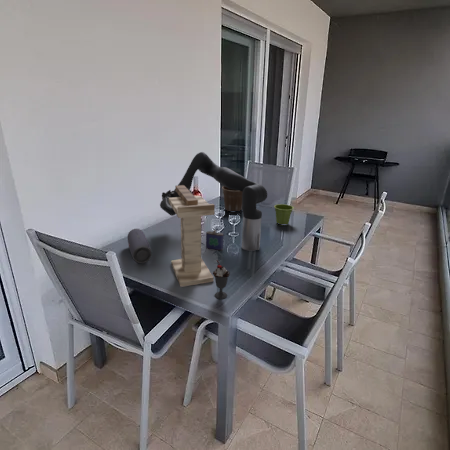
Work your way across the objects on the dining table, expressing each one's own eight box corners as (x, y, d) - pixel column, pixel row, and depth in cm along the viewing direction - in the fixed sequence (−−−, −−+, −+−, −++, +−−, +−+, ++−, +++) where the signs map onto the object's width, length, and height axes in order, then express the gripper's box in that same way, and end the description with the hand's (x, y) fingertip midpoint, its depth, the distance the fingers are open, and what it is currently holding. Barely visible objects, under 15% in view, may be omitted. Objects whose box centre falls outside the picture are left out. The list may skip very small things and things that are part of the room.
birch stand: (171, 264, 146) (168, 193, 133) (200, 260, 150) (200, 191, 138) (180, 287, 128) (178, 207, 116) (213, 281, 133) (214, 204, 120)
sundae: (211, 290, 126) (212, 257, 121) (228, 290, 127) (229, 257, 122) (212, 300, 120) (213, 266, 115) (230, 300, 121) (231, 265, 115)
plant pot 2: (294, 223, 200) (296, 206, 196) (287, 228, 191) (289, 211, 186) (277, 219, 206) (278, 202, 202) (269, 224, 196) (271, 207, 192)
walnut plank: (175, 190, 144) (175, 185, 144) (184, 190, 146) (184, 185, 145) (187, 206, 124) (187, 200, 123) (197, 206, 125) (197, 200, 124)
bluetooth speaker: (127, 246, 162) (125, 228, 158) (145, 244, 165) (144, 226, 162) (132, 267, 142) (130, 247, 139) (153, 264, 146) (152, 244, 142)
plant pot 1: (242, 214, 212) (243, 191, 206) (219, 212, 215) (219, 189, 209) (246, 207, 226) (247, 185, 221) (224, 205, 230) (225, 183, 224)
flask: (223, 249, 162) (224, 230, 158) (222, 251, 160) (222, 232, 156) (206, 246, 164) (206, 227, 161) (204, 249, 162) (204, 229, 158)
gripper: (159, 193, 160) (162, 184, 145) (186, 191, 165) (193, 182, 150) (160, 208, 159) (164, 200, 144) (188, 205, 164) (195, 198, 149)
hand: (179, 191), depth 147 cm, fingers open, 8 cm apart
